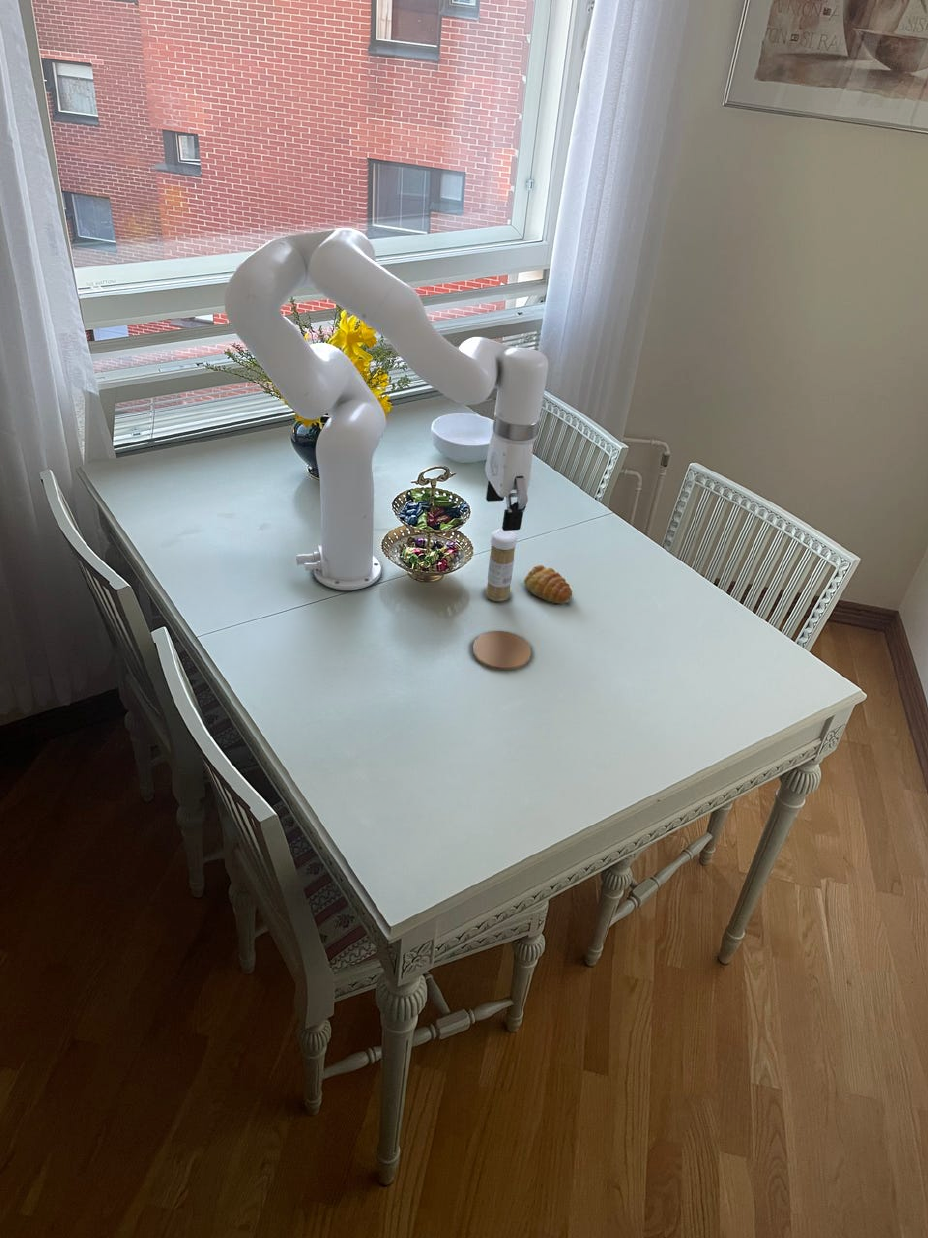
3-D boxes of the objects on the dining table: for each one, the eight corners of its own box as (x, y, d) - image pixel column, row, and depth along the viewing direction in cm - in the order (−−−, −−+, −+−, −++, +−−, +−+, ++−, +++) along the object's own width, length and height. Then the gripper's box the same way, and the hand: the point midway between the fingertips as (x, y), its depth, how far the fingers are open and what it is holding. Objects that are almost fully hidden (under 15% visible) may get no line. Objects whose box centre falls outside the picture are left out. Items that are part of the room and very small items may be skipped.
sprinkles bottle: (502, 586, 176) (510, 525, 167) (514, 599, 172) (522, 538, 164) (481, 591, 174) (487, 529, 166) (492, 604, 171) (499, 543, 162)
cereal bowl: (502, 475, 211) (505, 446, 206) (429, 470, 210) (430, 442, 205) (499, 441, 224) (501, 414, 220) (430, 437, 223) (431, 409, 219)
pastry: (579, 597, 175) (582, 580, 172) (556, 611, 171) (558, 594, 168) (542, 575, 180) (544, 558, 177) (518, 587, 176) (521, 571, 173)
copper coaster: (482, 673, 155) (482, 670, 154) (466, 636, 162) (466, 634, 162) (538, 666, 157) (538, 663, 157) (520, 630, 165) (520, 628, 165)
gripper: (479, 403, 158) (469, 491, 168) (509, 451, 145) (496, 543, 155) (521, 402, 160) (508, 489, 170) (554, 449, 147) (538, 540, 157)
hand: (502, 514), depth 163 cm, fingers open, 9 cm apart
